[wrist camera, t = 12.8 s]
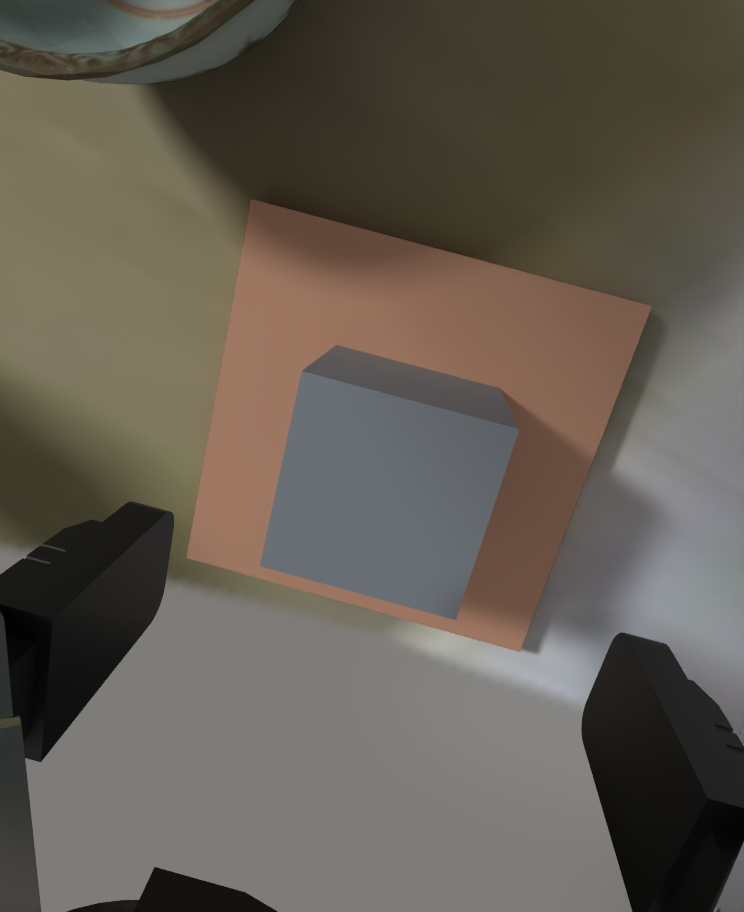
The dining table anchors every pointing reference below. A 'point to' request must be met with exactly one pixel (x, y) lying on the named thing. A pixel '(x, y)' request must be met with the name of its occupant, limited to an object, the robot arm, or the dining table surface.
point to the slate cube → (388, 479)
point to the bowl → (131, 37)
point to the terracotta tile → (424, 345)
